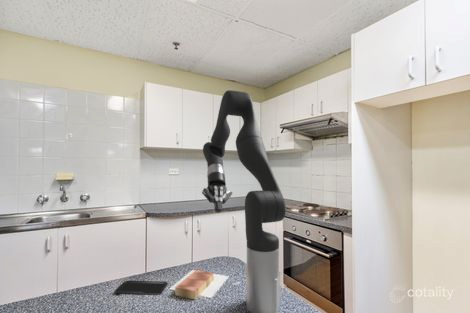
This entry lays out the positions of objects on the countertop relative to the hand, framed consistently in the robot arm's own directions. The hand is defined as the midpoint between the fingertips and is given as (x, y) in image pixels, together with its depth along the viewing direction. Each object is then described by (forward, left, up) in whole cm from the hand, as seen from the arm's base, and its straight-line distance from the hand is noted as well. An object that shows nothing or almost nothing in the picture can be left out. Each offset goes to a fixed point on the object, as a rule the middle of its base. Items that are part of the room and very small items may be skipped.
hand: (218, 211), depth 94 cm
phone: (+18, +21, -23) cm, 36 cm away
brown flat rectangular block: (+2, +8, -21) cm, 23 cm away
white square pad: (+2, +11, -22) cm, 25 cm away
